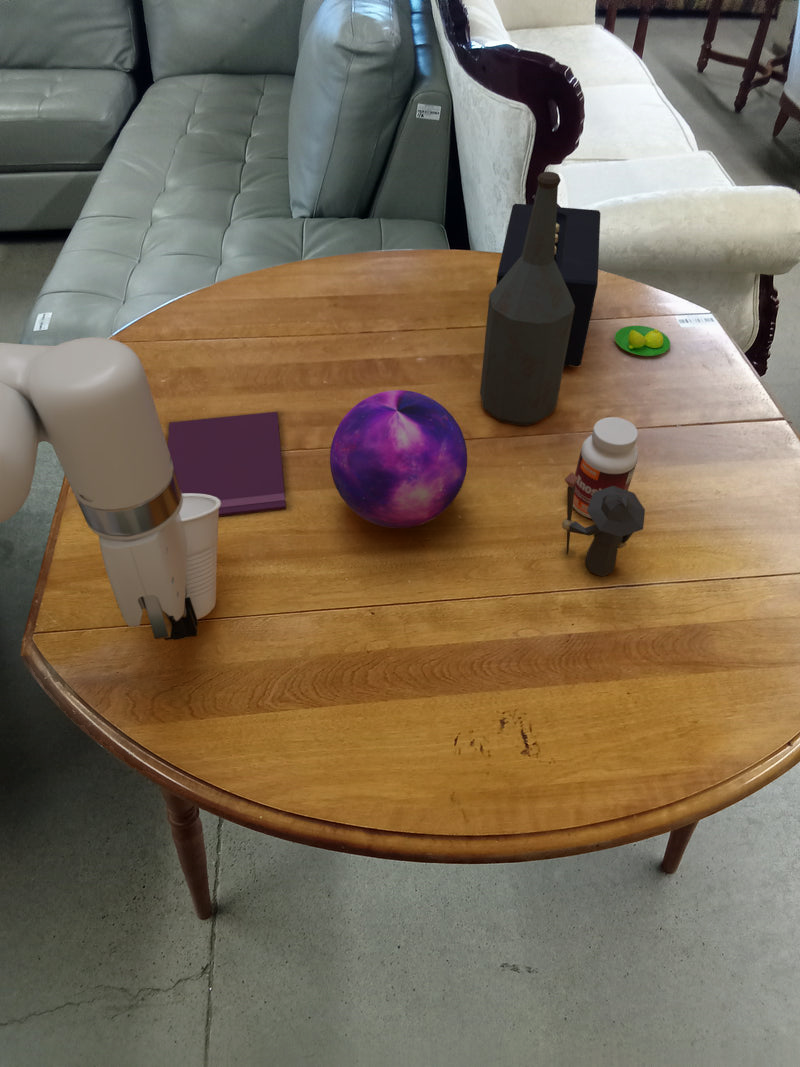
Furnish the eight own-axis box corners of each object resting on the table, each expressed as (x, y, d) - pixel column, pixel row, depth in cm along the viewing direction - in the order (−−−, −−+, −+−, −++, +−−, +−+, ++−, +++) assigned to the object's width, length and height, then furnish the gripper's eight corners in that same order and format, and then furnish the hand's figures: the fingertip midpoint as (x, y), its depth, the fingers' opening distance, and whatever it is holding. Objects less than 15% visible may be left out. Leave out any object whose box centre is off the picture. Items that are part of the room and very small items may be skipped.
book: (163, 523, 87) (162, 519, 86) (170, 425, 99) (169, 421, 98) (286, 509, 88) (285, 505, 88) (277, 414, 100) (277, 410, 100)
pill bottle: (561, 511, 88) (578, 437, 80) (578, 479, 92) (595, 405, 84) (614, 529, 86) (636, 455, 78) (628, 495, 90) (651, 422, 82)
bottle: (559, 388, 104) (602, 161, 82) (550, 432, 98) (594, 199, 76) (486, 377, 106) (509, 152, 84) (472, 419, 99) (493, 187, 78)
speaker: (503, 290, 122) (513, 197, 111) (583, 298, 120) (602, 204, 110) (487, 366, 108) (497, 267, 97) (578, 376, 106) (599, 277, 95)
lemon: (645, 365, 108) (650, 348, 106) (602, 341, 112) (606, 324, 110) (680, 346, 111) (685, 329, 109) (637, 323, 115) (641, 306, 113)
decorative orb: (320, 546, 84) (309, 443, 73) (349, 458, 94) (343, 356, 83) (454, 564, 82) (463, 460, 71) (469, 472, 92) (478, 369, 81)
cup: (248, 592, 80) (236, 492, 76) (211, 635, 71) (195, 523, 67) (161, 590, 82) (145, 493, 78) (114, 632, 72) (93, 523, 69)
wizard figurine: (621, 545, 84) (646, 464, 75) (632, 584, 80) (660, 504, 72) (547, 545, 84) (564, 465, 75) (554, 584, 80) (573, 504, 72)
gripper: (91, 437, 63) (146, 577, 77) (66, 571, 53) (134, 705, 67) (182, 428, 64) (221, 568, 78) (174, 559, 54) (220, 693, 67)
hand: (181, 631), depth 72 cm, fingers closed
